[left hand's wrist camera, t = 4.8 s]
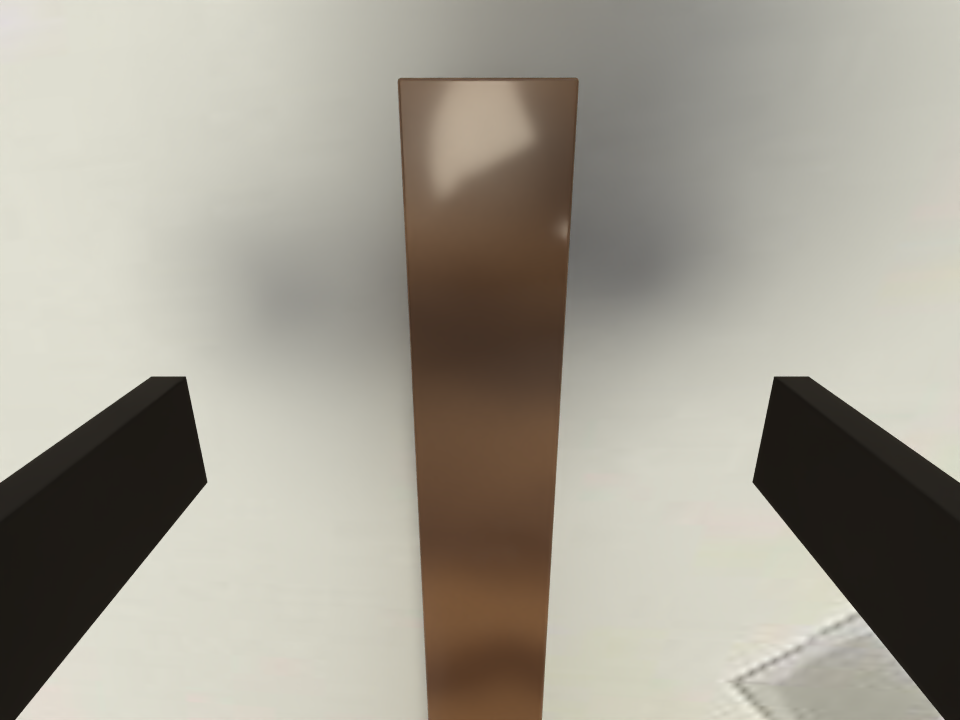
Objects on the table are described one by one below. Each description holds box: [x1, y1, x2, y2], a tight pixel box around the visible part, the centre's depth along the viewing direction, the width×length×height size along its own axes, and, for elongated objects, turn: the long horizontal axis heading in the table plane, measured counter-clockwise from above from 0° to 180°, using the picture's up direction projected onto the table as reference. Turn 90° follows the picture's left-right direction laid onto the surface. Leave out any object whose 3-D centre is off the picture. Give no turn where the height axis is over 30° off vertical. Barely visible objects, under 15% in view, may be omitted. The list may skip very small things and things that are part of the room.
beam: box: [398, 78, 579, 720], centre depth 26 cm, size 51×4×7 cm, turn 0°
